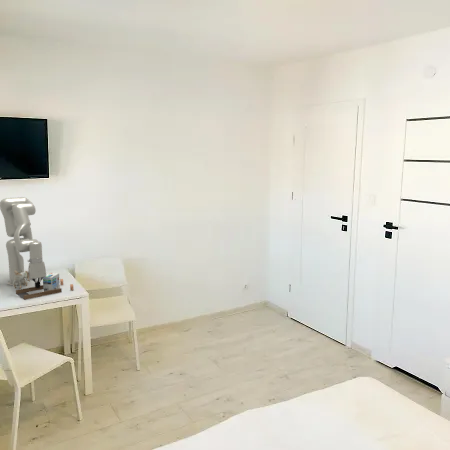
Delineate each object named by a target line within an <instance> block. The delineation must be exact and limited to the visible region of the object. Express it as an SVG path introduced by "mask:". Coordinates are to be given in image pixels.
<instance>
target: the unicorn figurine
mask: <svg viewBox="0 0 450 450" xmlns="http://www.w3.org/2000/svg"><path fill="white" fill-rule="evenodd" d="M14 275H15V276H14V282H13V285H14V286H13V288H14V289H17V288H18V287H17V286H16V285H15V282H16V281H19V284H20V285H19V288H18V290H19V289H23V288H22V286H26V287H28V283H29V282H31V280H29V276H28V270H24V272H21V273H20V272H18V271H16V270H15V271H14ZM22 279H23V280H24V283H23V285H21V282H20V280H22ZM25 280H26V284H25Z"/></svg>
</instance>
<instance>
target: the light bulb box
mask: <svg viewBox="0 0 450 450" xmlns="http://www.w3.org/2000/svg"><path fill="white" fill-rule="evenodd" d="M42 285H43V289H42V290H43V291H42V292H44V291H49V290H54V289H59V288H61V287H60V286H61V285H60V273H59V272H49V273H46V276H45V277H43V279H42Z"/></svg>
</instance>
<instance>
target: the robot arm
mask: <svg viewBox="0 0 450 450" xmlns="http://www.w3.org/2000/svg"><path fill="white" fill-rule="evenodd" d="M36 211H37V210H36V206H35V205H34V203H33V202H32V201H31V200H29V199H28V198H27V197H25V196H24V197H23V196H21V197H19V196H18V197H8V198H7V197H6V198H3V199H1V200H0V212H1V214H2V217H3V220H4V226H5V227H4V228H5V232H6V236H7V237H9V238H12V239H9V240H7V241H6V242H5V243H6V244H5V248H6V253H7V260H8V270H9V271H8V272H9V275H8V276H9V281H7V285H8V286H13V287H14V285H13V282H14V276H15V275H14V271H15V270H16V271H18V272H20V273H21V272H25V265H24V264H25V262H24V257H23V255H22V254H21V253H27V252H29V259H27V262H28V270H27V271H28V276H29V280H30V282H31V281H32V282H34V287H36V288H40V286H41V283H42V281H43V277H45V276H46V275H47V272H46V271H47V270H46V265H45V262H44V261H43V245H42V242H41V241H39V240H37V239H33V234H32V232H33V231H32V228H31V220H30V217H29V216H33V215H35V214H36ZM20 282H21V285H22V286H24V285H23V283H24V280H23V279H22V280H20ZM15 285H16V287H17V286H20V284H19V281H16V282H15ZM25 285H26V279H25Z"/></svg>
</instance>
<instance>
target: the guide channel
mask: <svg viewBox="0 0 450 450" xmlns="http://www.w3.org/2000/svg"><path fill="white" fill-rule="evenodd" d="M40 290H43V284H40V288H36V287H35V286H31V287H30V286H29V287H26V288H21V289H19V288H18V289H16V290H15V295H17V294H20V293H25V292H27V293H28V294H29V295H24V299H23V300H30V299H35V298H40V297H44V296H49V295H56V294H60V293H62V288H61V287H60V288H59V289H54V290H49V291H44V292H43V291H40ZM35 291H40V292H35ZM29 292H31V293H29ZM32 292H34V293H32Z"/></svg>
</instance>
